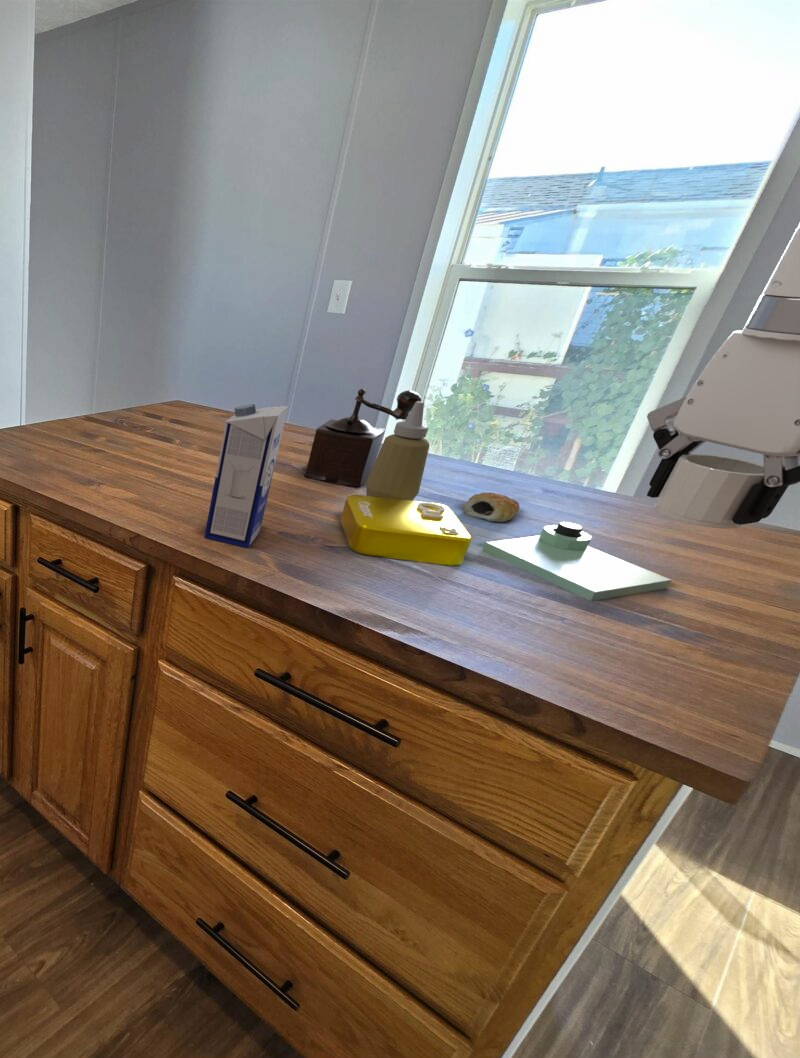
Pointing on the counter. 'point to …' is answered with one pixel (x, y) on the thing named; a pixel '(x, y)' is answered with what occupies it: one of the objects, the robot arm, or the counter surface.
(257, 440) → the milk carton
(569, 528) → the tare button
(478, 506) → the pastry
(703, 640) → the counter surface
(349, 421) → the manual coffee grinder
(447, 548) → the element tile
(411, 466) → the squeeze bottle
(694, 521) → the small bowl
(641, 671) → the counter surface
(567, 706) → the counter surface
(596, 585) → the scale
